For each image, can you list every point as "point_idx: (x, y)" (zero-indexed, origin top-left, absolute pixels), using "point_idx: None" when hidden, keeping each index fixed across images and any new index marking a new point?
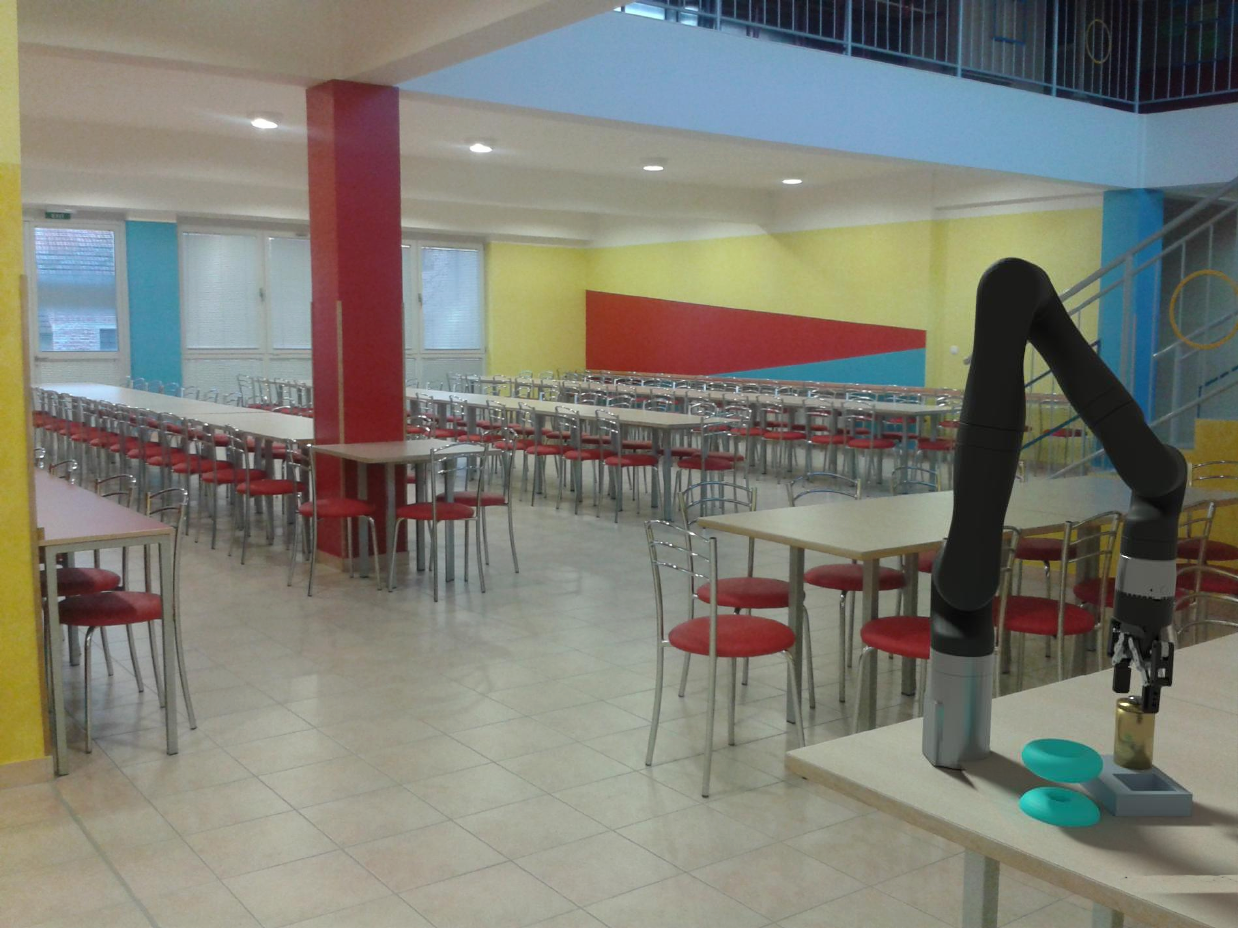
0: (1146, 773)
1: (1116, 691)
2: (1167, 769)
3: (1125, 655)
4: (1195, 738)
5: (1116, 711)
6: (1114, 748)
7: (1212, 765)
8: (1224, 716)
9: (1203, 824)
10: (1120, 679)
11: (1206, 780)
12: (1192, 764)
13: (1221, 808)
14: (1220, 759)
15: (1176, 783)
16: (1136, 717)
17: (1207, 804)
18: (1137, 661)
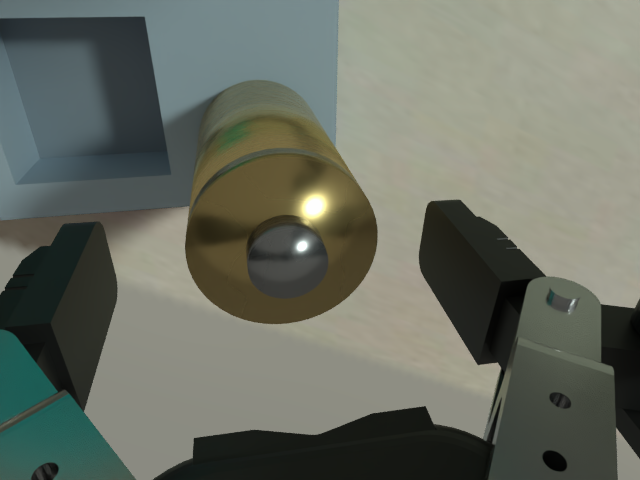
0: (168, 149)
1: (428, 209)
2: (409, 262)
3: (498, 405)
4: None
5: (295, 140)
6: (273, 92)
7: (419, 349)
8: None
9: (67, 215)
10: (457, 264)
11: (343, 313)
12: (429, 318)
13: (183, 288)
14: (445, 370)
15: (92, 207)
16: (191, 199)
17: None
18: (14, 471)
